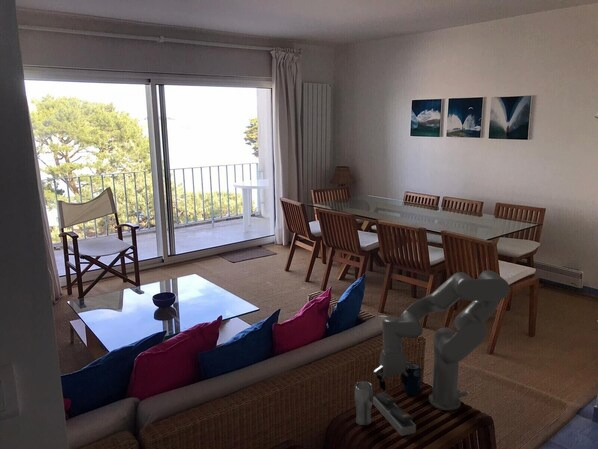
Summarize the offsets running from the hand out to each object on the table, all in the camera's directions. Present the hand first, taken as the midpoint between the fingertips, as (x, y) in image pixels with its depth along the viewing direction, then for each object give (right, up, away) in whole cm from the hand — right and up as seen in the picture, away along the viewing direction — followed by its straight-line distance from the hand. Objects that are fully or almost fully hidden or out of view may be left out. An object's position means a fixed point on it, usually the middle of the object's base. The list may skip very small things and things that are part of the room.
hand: (393, 386), depth 197 cm
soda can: (+10, -6, +9) cm, 14 cm away
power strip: (-2, -9, -9) cm, 13 cm away
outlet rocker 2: (0, -5, -16) cm, 17 cm away
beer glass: (-14, -10, -12) cm, 21 cm away
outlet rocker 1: (-4, -3, -5) cm, 7 cm away
